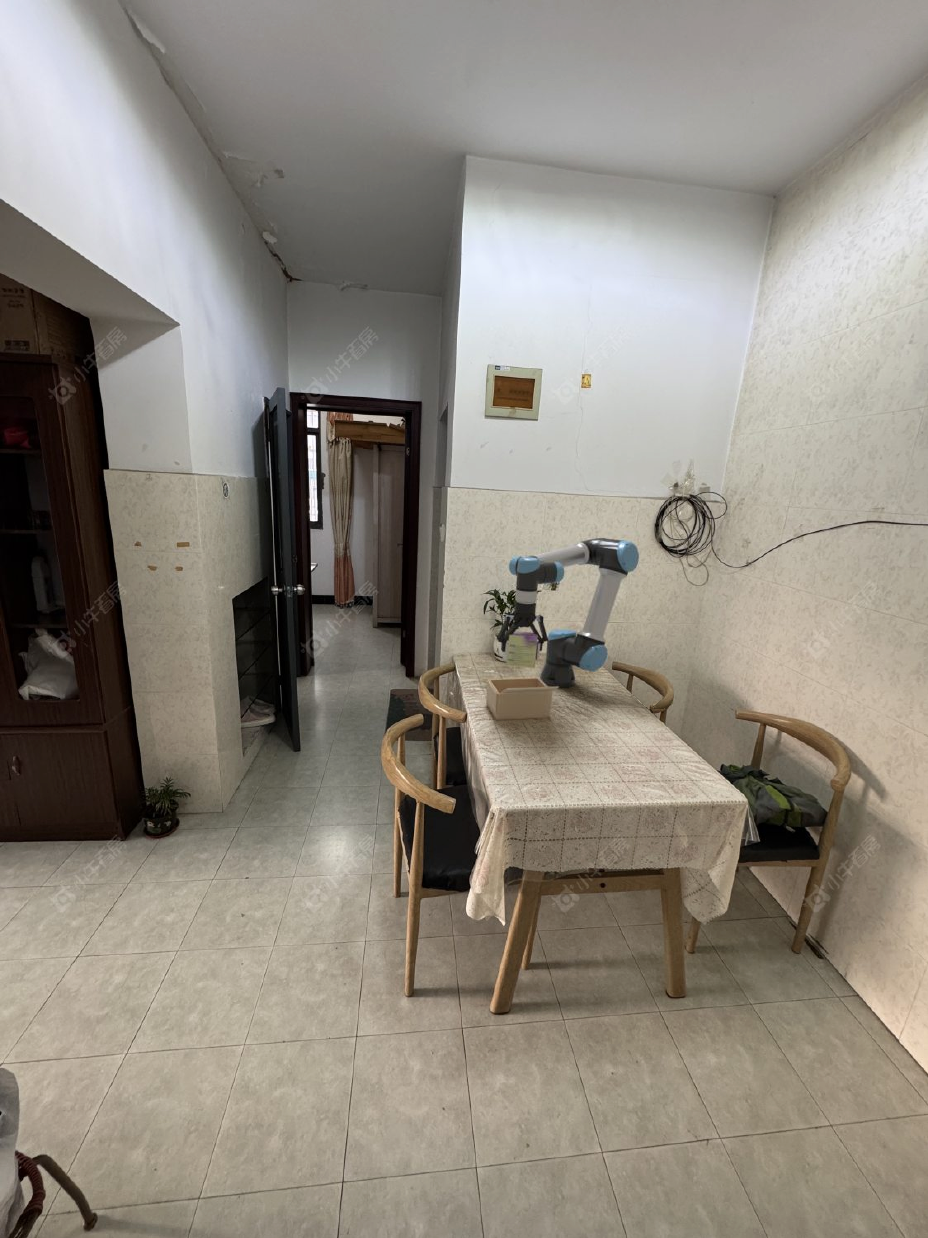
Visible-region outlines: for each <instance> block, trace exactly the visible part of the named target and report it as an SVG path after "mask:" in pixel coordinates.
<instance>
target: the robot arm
mask: <svg viewBox="0 0 928 1238" xmlns="http://www.w3.org/2000/svg"><path fill="white" fill-rule="evenodd" d="M639 556H640V555H639V550H638V547H637V545H635V543H634V542H632V541H627V540H623V539H622V540H621V539H620V540H619V539H615V538H614V539H611V538H605V537H599V538H598V537H596V538H591V539H586V540H582V541H579V542H576V543H573V545H572V546H571V545H570V546H568V547H563V548H559V549H556V550H555V549H554V550H550V551H547V552H543V553H539V554H538V553H537V554H535V555H529V556H522V555H521V556H514V557H511V559H510V561H509V564H508V570H509V572H510V574H511V575H514V576H516V583H515V597H514V598H515V602H514V611H513V615H509V614H505V615H504V621H503V623H502V626H501V628H500V630H499V633H498V634H497V637H496V640H497V641H498V642H499V643H501V645H500V647H501V648H500V651H501V652H502V653H503V654H502V660H503V661H504V662H507V654H508V640H509V635H513V633H514V632H515V631H517V630H518V629H519V628H521V629H522V628H530V630H531V631H532V633H534V634H537V636H538V638H537V649H536V660H535V661H540V653H541V652H542V651H543V644H544V643H545V642H546V652H545V653H546V654H545V663H544V666H543V668H542V671H541V672H540V673H539V674H540V675H539V679H541V680H542V681H543V682H544V683H545V684H546V685H547V686H548V687H556V686H559V688H562V689H563V688H571V687H573V686H574V685H575V684H576V675H575V671H574V667H573V666H575V667H578V668H579V669H581V670H584V671H588V672H596V671H599V669H601V668H602V667H603V666H604V665H605V663H606V662H607V658H608V656H609V655H608V649H607V647H606V646H605V645H606V639H605V638H604V635H605V633H606V632H605V631H606V629H607V626H608V623H609V620H610V616H611V613H612V610H613V608H614V605H615V602H616V598H617V594H618V592H619V589H620V586H621V583H622V581H623V580H624V579H626V578H627V577H628V574H629V573H631V572H633V571H634V570H635V569H636V568H637V566H638V564H639V558H640V557H639ZM574 565H575V566H576V565H578V566H583V565H591V566H592V565H593V566H597V567H598V569H597V570H598V572H599V573H600V575H599V579H598V581H597V585H596V587H595V591H594V594H593V596H592V600H591V603H590V606H589V609H588V612H587V615H586V618H585V622H584V624H583V626H582V629H581V630H580V631H578V632H576V631H575V630H572V629H564V628H563V629H554V630H550V631H549V632H548V633H547V630H546V627H545V624H544V619H545V617H544V616H543V615H541V614H538V615H536V611H537V610H536V609H537V599H538V588H539V587H538V585H544V584H547V585H548V584H556V583H560V582H561V581H562V580H563V579H564V577H565V568H567V567H570V566H574ZM512 620H513V621H514V622H513V623H512V624H511V627H510V622H512ZM535 621H536V622H537V623H538V627H539V631H540V633H541V635H540V633H539V631H538V630H537V628H536V626H535V624H534V622H535ZM509 627H510V628H509ZM508 628H509V629H508Z"/></svg>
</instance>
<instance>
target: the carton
mask: <svg viewBox="0 0 928 1238" xmlns="http://www.w3.org/2000/svg"><path fill="white" fill-rule="evenodd" d="M528 687H548V685H546V684H545V683H544V682H543V681H542V680H541V679H540V677H524V678H523V677H520V678H518V677H516V678H497V679H496V678H493V679H492V678H490V679H489V678H488V679H487V681H486V695H485V699H486V705H487V708H488V709H489V710H490V712H491V713H492V715H493V717H494V718H495V720H496V721H505V720H508V721H509V720H529V719H530V720H531V719H545V718H546V719H548V718H550V715H551V710H552V700H553V699H552V698H553V691H551V692H528V693H502V694H501V692H502V691H504V690H505V689H507V688H528Z"/></svg>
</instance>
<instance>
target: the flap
mask: <svg viewBox="0 0 928 1238" xmlns="http://www.w3.org/2000/svg"><path fill="white" fill-rule="evenodd" d="M559 688H560V687H559V686H556V687H553V686H547V687H528V688H507V689H505V690H504V691H502V692H501V694H502V693H528V692H551V691H552V692H553V691H556V689H559Z"/></svg>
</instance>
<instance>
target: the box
mask: <svg viewBox="0 0 928 1238" xmlns="http://www.w3.org/2000/svg"><path fill="white" fill-rule="evenodd" d="M537 638H538V636H537V634H534V633H533V632H529V631H528V632H527V631H517V630H516V631H515V632H514V633H513V635H509V640H508V641H507V643H508V654H507V661H506V662H505V663H506V666H512V667H514V666H515V667H524V668H533V669H534V668H536V661H537V660H536V649H537V641H538V639H537Z"/></svg>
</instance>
